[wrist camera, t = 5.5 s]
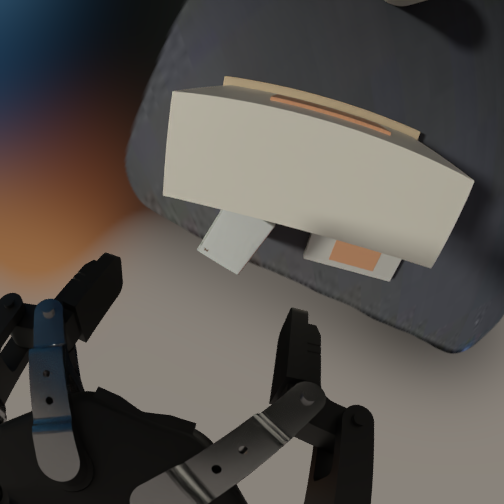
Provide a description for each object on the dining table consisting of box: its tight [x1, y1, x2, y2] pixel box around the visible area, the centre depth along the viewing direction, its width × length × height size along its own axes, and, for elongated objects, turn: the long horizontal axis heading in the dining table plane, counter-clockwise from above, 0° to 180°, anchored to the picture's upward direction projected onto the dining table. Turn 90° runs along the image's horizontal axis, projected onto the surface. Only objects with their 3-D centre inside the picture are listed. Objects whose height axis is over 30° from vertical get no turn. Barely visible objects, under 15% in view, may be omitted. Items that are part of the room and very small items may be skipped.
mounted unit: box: [163, 76, 474, 268], centre depth 26 cm, size 24×10×18 cm, turn 79°
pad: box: [303, 233, 402, 282], centre depth 39 cm, size 14×11×1 cm
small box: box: [197, 209, 276, 275], centre depth 35 cm, size 8×6×10 cm
